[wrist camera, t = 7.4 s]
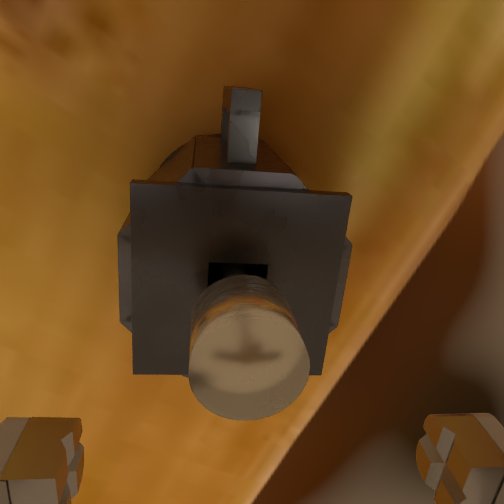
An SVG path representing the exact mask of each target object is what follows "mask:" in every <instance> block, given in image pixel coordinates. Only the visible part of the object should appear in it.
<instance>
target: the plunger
mask: <svg viewBox="0 0 504 504" xmlns="http://www.w3.org/2000/svg"><path fill="white" fill-rule="evenodd" d="M265 267H266V264H244V263H218V262H209V268H208V283H213V284H212V285H210V286H209V287H208V288H207V289H205V290H204V291H203V292H202V294H201V295H200V296H199V297H198V299H197V301H196V303H195V305H194V307H193V310H192V315H191V330H190V351H189V382H190V386H191V389H192V392H193V393H194V395H195V397H196V398H197V400H198V401H199V402H200V403H201V404H202V405H203V406H204V407H205V408H207V409H208V410H209V411H211V412H213V413H215V414H216V415H219V416H221V417H224V418H228V419H233V420H244V421H246V420H256V419H262V418H265V417H269V416H271V415H274V414H276V413H278V412H280V411H282V410H283V409H285V408H286V407H288V406H289V405H290V404H291V403H292V402H294V400H295V399H296V398H297V397H298V396H299V395H300V393H301V392H302V391H303V389H304V387H305V385H306V383H307V380H308V376H309V371H310V360H309V356H308V352H307V350H306V347H305V344H304V342H303V339H302V337H301V334H300V331H299V329H298V326H297V324H296V321H295V318H294V316H293V313H292V311H291V308H290V305H289V303H288V300H287V298H286V297H285V295H284V294H283V292H282V291H281V290H280V289H279V288H278V287H277V286H276V285H274V284H273V283H271V282H270V281H268V280H266V279H264V278H261V277H257V276H258V275H260V274H261V273H263V272H264V271H265Z"/></svg>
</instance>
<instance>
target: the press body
mask: <svg viewBox="0 0 504 504" xmlns="http://www.w3.org/2000/svg"><path fill="white" fill-rule="evenodd" d="M261 100H262V91H261V90H256V89H251V88H246V87H235V86H224V89H223V106H222V123H221V134H215V135H208V136H198V135H197V137H196V136H195V137H194V138H193V139H192V140H190V141H189V142H188V143H186V144H184V145H183V146H181V147H179V148H178V149H177V150H175V151H174V152H173V153H172V154H171V155H170V156H169V157H168V158H167V159H166V160H165V161H164V162H163V163H162V165H161V166H160V168H159V169H158V170H157V171H156V172H155V173H154V174H153V175H152V176H151V177H150V178H148V180H135V179H132V181H131V182H130V213H129V215H128V217H127V218H126V220H125V222H124V224H123V226H122V228H121V229H120V231H119V233H118V271H119V309H120V322H121V324H122V325H124V326H125V327H126V328H127V329H128V330H130V331H131V332H132V346H133V374H166V375H183V376H186V377H189V351H190V330H191V315H192V310H193V307H194V305H195V303H196V301H197V299H198V297H199V296H200V295H201V294H202V292H203V291H204V290H205V289H207V288H208V287H209V286H210V285H212V284H213V283H208V268H209V262H218V263H244V264H266V267H265V271H264V272H263V273H261V274H260V275H258V276H257V277H261V278H264V279H266V280H268V281H270V282H271V283H273V284H274V285H276V286H277V287H278V288H279V289H280V290H281V291H282V292H283V294H284V295H285V297H286V298H287V300H288V303H289V305H290V308H291V311H292V313H293V316H294V318H295V321H296V324H297V326H298V329H299V331H300V334H301V337H302V339H303V342H304V344H305V347H306V350H307V352H308V356H309V360H310V371H309V375H321V374H322V368H323V362H324V357H325V351H326V345H327V339H328V334H329V333H330V332H331V331H333V330H334V329H335V328H337V326H338V322H339V317H340V311H341V306H342V300H343V295H344V289H345V284H346V278H347V273H348V267H349V262H350V256H351V251H352V244H351V242H350V241H349V240H348V239H347V237H346V230H347V224H348V218H349V213H350V207H351V201H352V196H351V195H350V194H349V193H346V192H330V191H313V190H308V189H307V188H306V187H305V185H304V184H303V183H302V182H301V181H300V179H299V178H298V177H297V176H296V174H295V173H294V172H293V171H292V170H291V169H290V168H289V167H288V166H287V165H286V164H285V163H284V162H283V161H282V160H281V159H280V158H279V157H278V156H277V155H276V154H275V153H274V152H273V151H272V150H271V149H270V148H269V147H268V146H267V145H266V144H265V143H264V142H263V141H262V140H258V134H259V123H260V112H261Z"/></svg>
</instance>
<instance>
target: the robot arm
mask: <svg viewBox="0 0 504 504" xmlns="http://www.w3.org/2000/svg"><path fill="white" fill-rule="evenodd" d="M423 427H424V429H425V431H426V433H427V434H426V435H425V436H424V437H423V438H422V439H420V440H419V442H418V446H417V450H416V458H417V465H418V469H419V472H420V474H421V476H422V478H423V480H424V482H425V483H426V484H427V485H429V486H430V487H431V488H433V489H434V490H435V497H434V500H435V502H436V504H504V428H503V426H502V425H501V424H500V423H499V422H498V421H497V419H496V418H495V417H494V416H492V415H491V414H489V413H473V414H431V415H429V416H428V417H427V418H426V420H425V423H424V426H423ZM81 434H82V423H81V419H80V418H61V417H32V418H23V417H7V418H6V419H5V420H4V421H3V422H1V424H0V504H71V499H72V498H73V497H74V496H75V495H76V494H77V493H78V491H79V487H80V484H81V480H82V474H83V467H84V447H83V446H82V445H81V444H80V443H79V440H80V437H81Z"/></svg>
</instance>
